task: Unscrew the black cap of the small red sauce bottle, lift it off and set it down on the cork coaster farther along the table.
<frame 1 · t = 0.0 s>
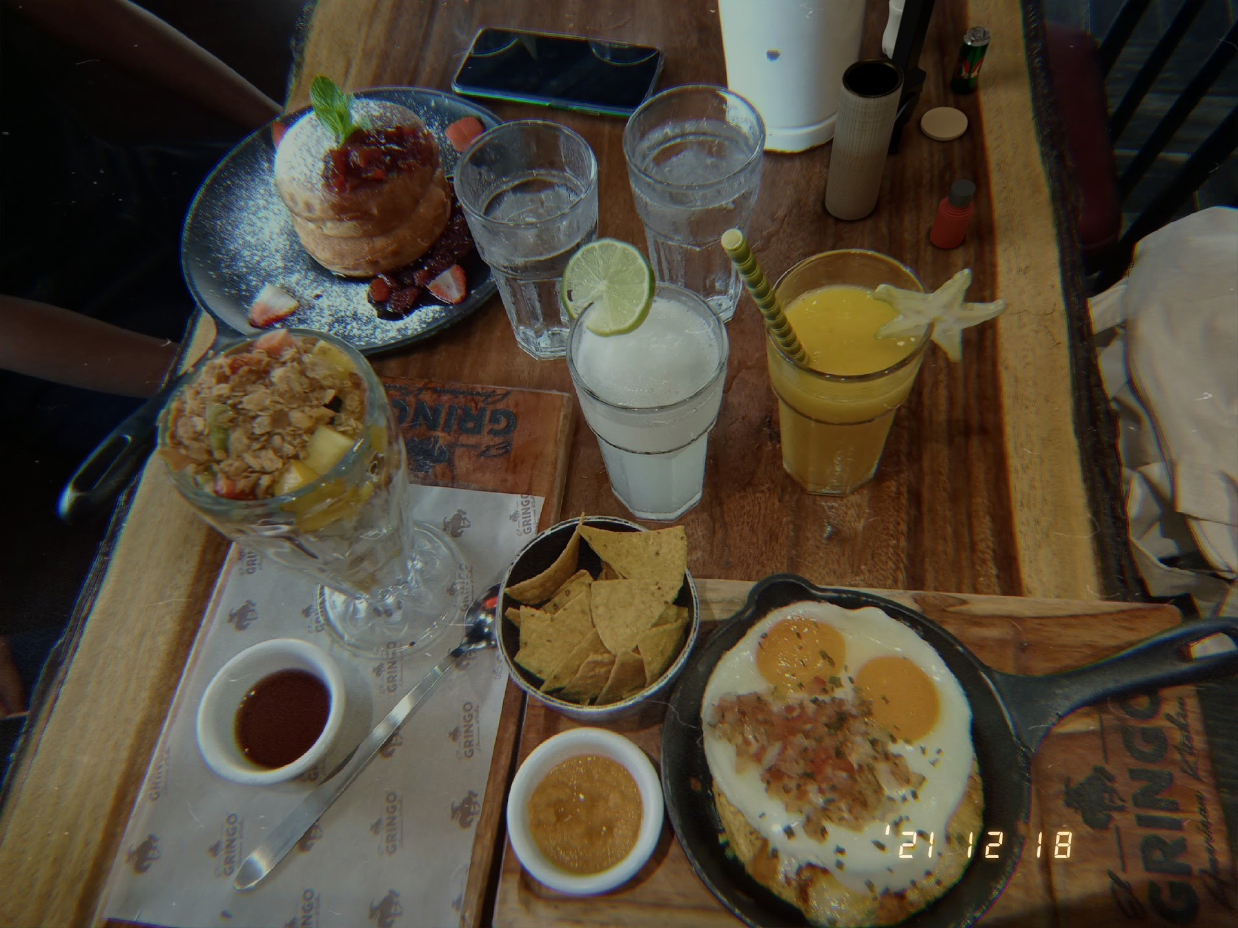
soda can: (961, 88, 156), on the table
sauce bottle: (946, 236, 139), on the table
coaster: (943, 125, 151), on the table
vase: (849, 203, 146), on the table
cap: (963, 189, 129), point 12 cm above the table, screwed on, not yet turned
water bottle: (896, 53, 163), on the table
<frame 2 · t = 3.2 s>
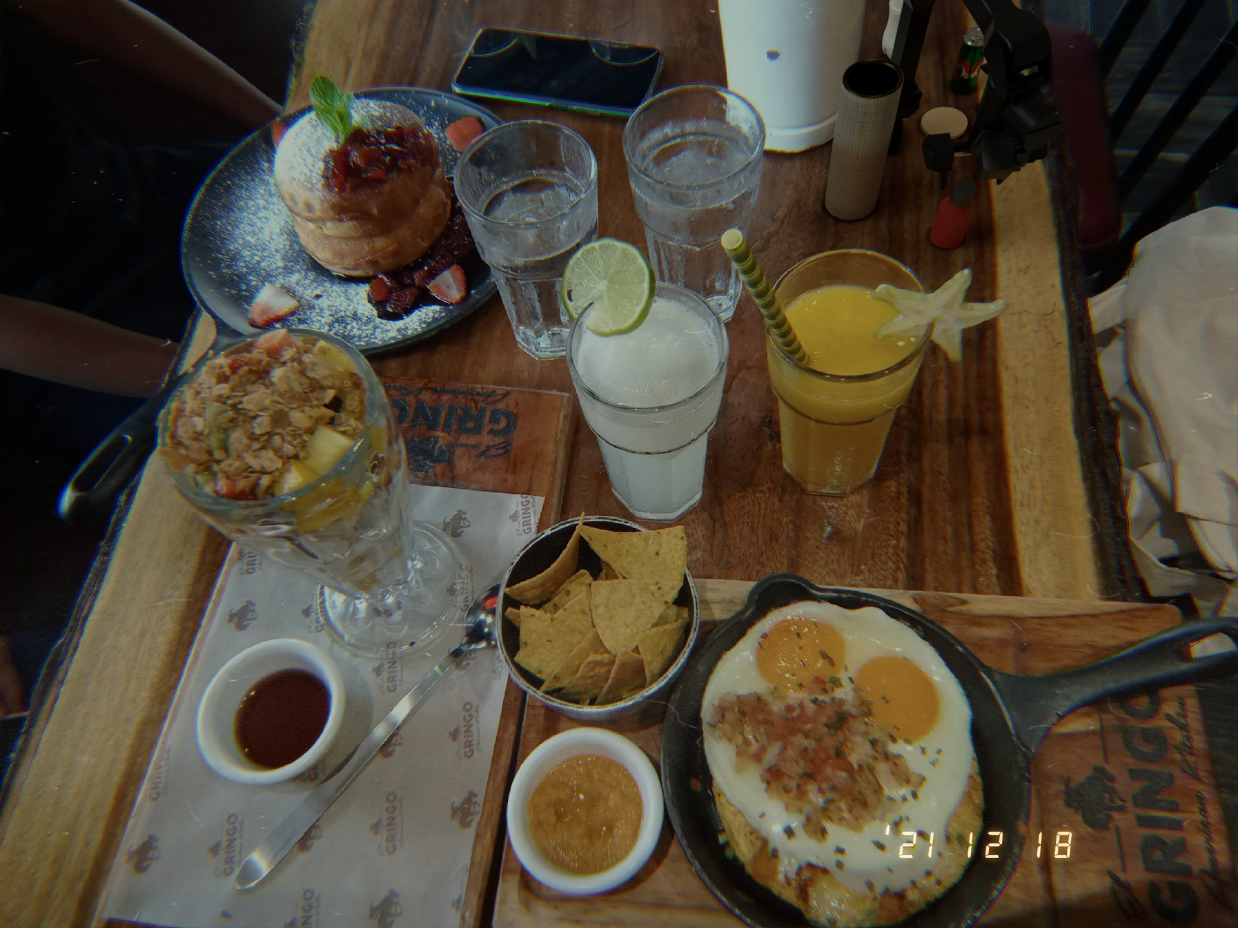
hand: (970, 186, 128), 12 cm above the table, tool pointing down, fingers open, 9 cm apart
nothing on the table moved.
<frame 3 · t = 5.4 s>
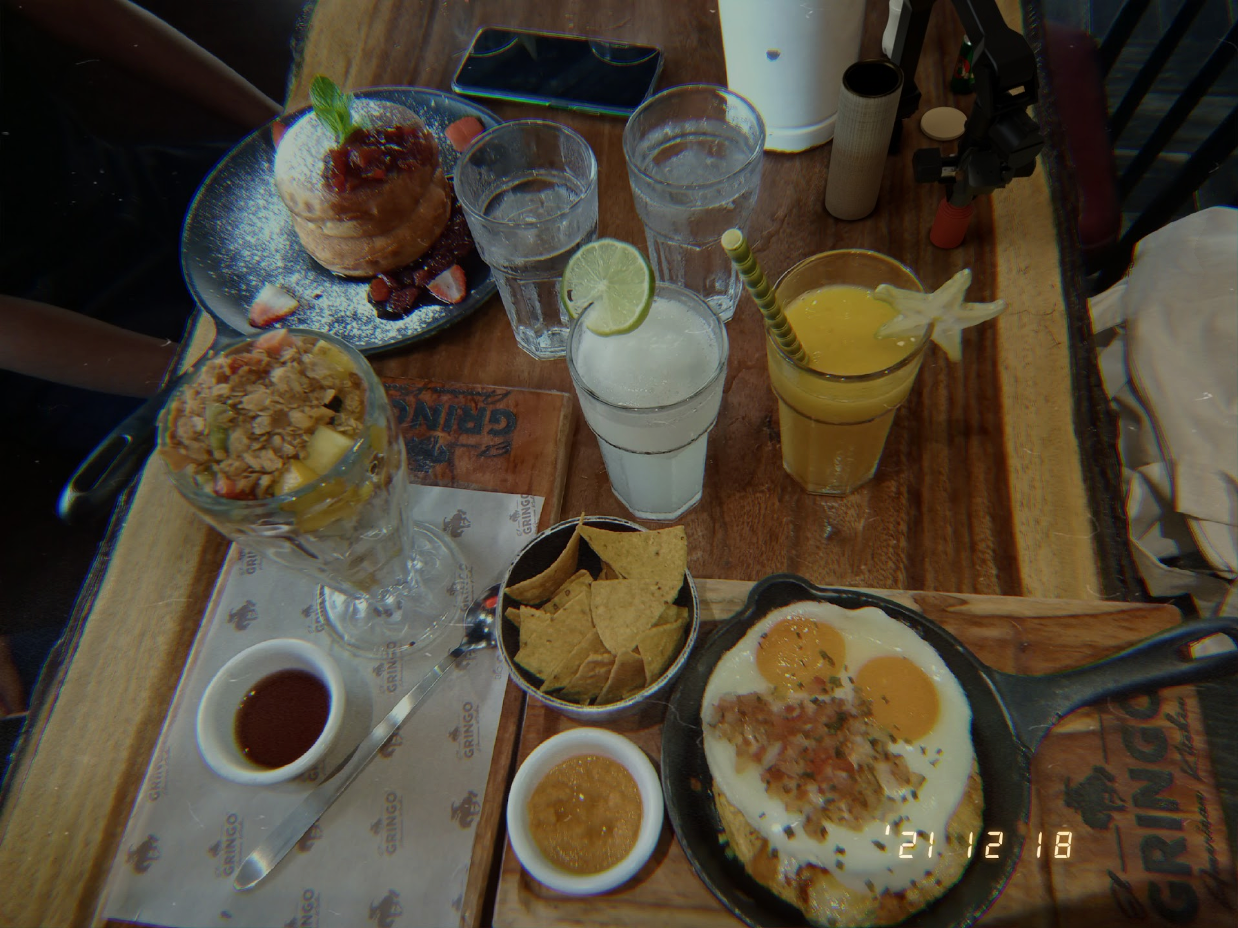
hand: (959, 199, 131), 9 cm above the table, tool pointing down, fingers closed on cap, 4 cm apart
cap: (963, 189, 129), point 12 cm above the table, screwed on, not yet turned, touching gripper
everything else where it was.
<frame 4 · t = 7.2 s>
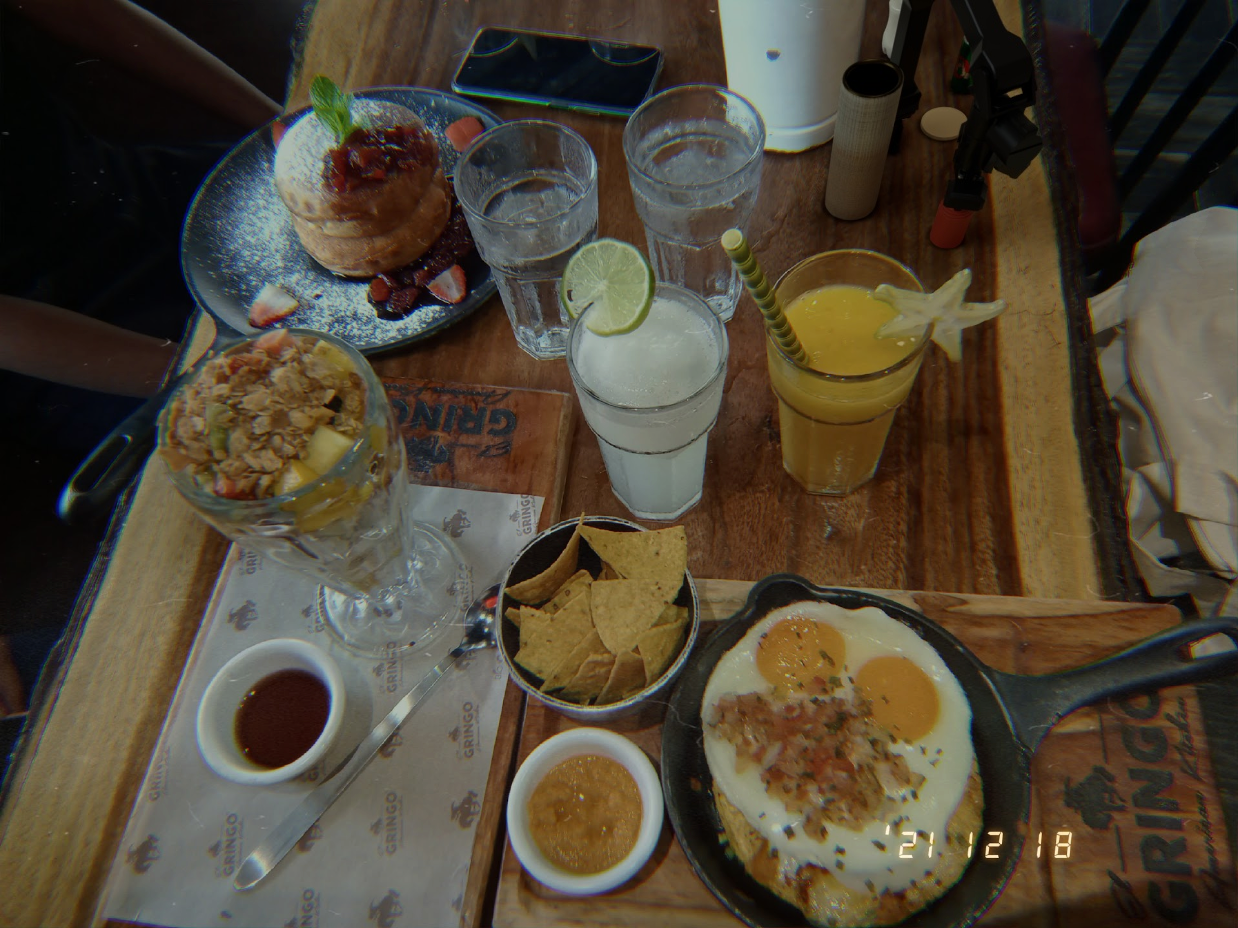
hand: (958, 202, 131), 9 cm above the table, tool pointing down, fingers closed on cap, 3 cm apart
sauce bottle: (946, 236, 139), on the table, touching gripper
cap: (963, 189, 129), point 12 cm above the table, turned 74° so far, risen 0.1 cm, still on its thread, touching gripper
everything else where it was.
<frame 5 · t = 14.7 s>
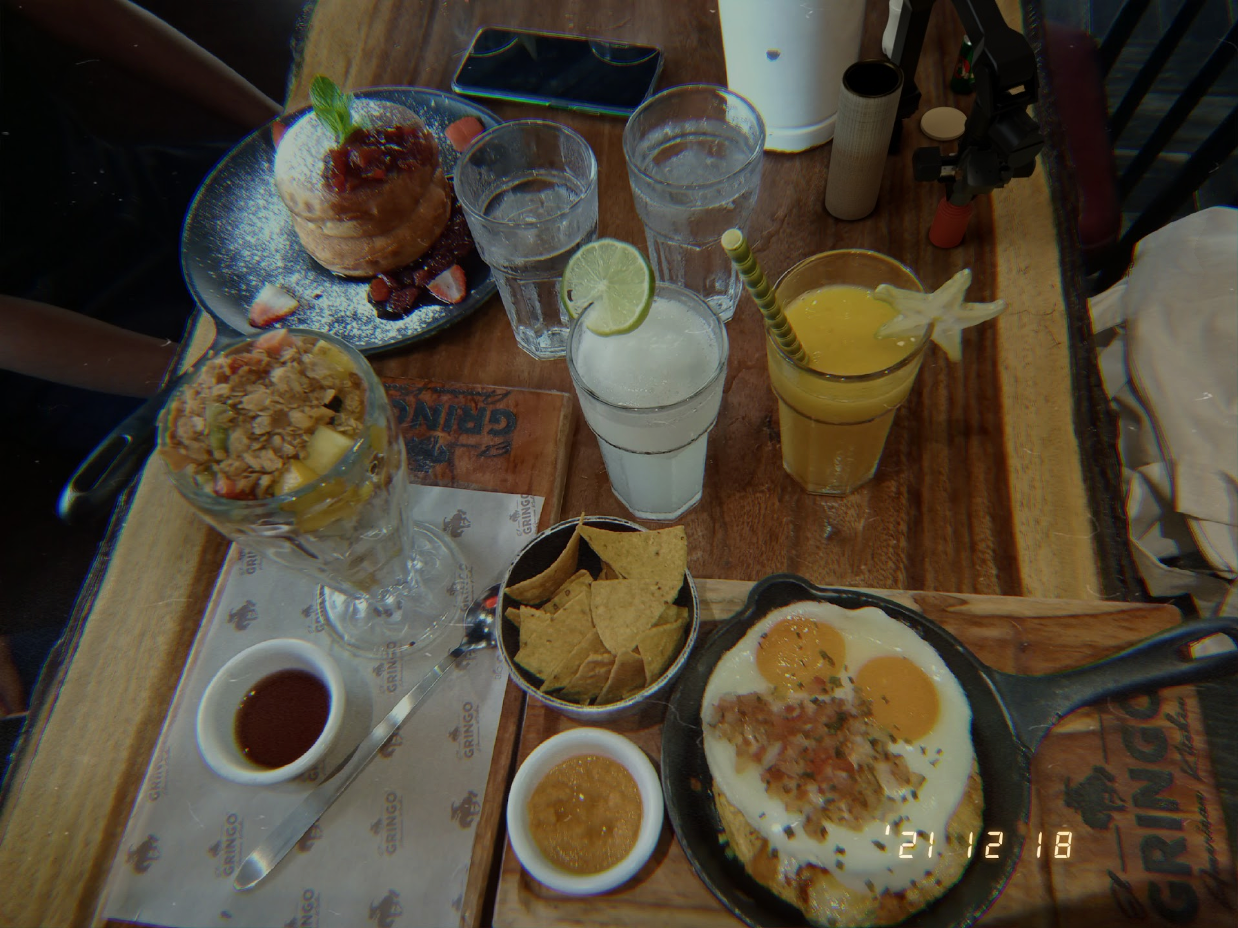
hand: (958, 199, 131), 9 cm above the table, tool pointing down, fingers closed on cap, 4 cm apart
sauce bottle: (945, 236, 139), on the table
cap: (962, 188, 129), point 12 cm above the table, turned 149° so far, risen 0.2 cm, still on its thread, touching gripper
everything else where it was.
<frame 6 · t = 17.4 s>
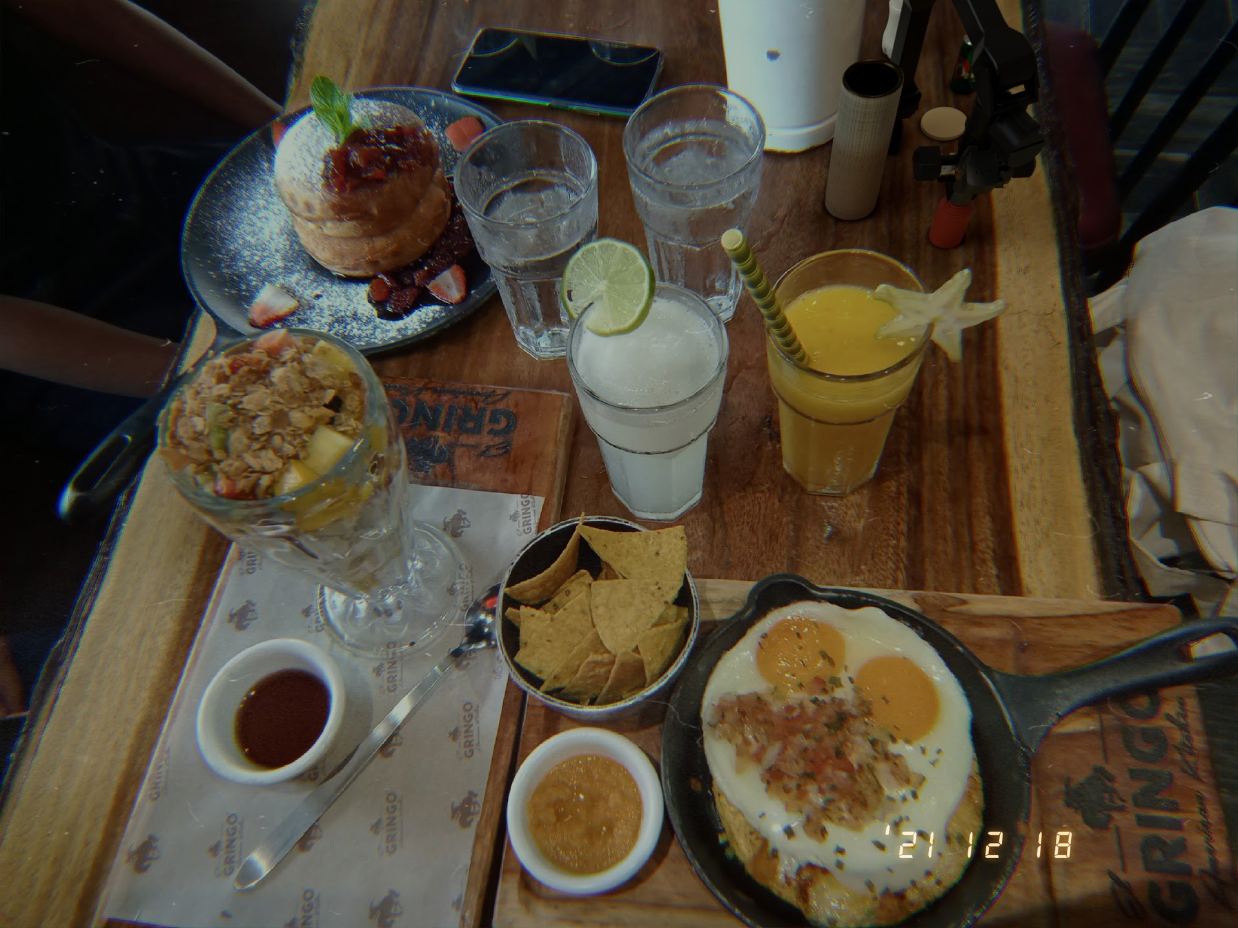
hand: (959, 199, 131), 9 cm above the table, tool pointing down, fingers closed on cap, 4 cm apart
cap: (963, 188, 128), point 12 cm above the table, turned 223° so far, risen 0.2 cm, still on its thread, touching gripper
everything else where it was.
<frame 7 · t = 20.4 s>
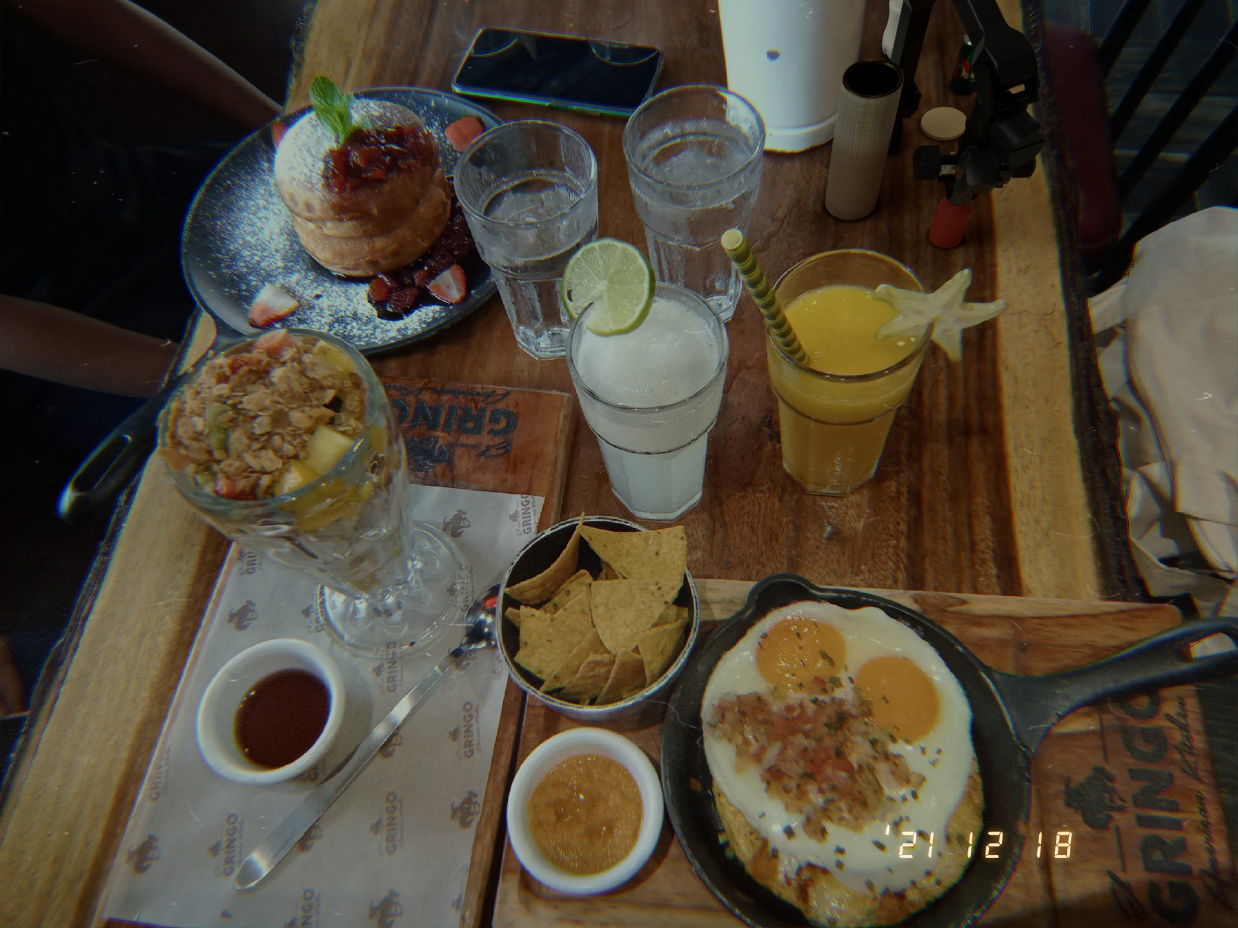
hand: (959, 198, 131), 9 cm above the table, tool pointing down, fingers closed on cap, 4 cm apart
cap: (963, 187, 128), point 12 cm above the table, turned 298° so far, risen 0.3 cm, still on its thread, touching gripper
everything else where it was.
when the fingers open (2 cm above the table, at t = 31.6 s): cap drops 1 cm, resting on coaster.
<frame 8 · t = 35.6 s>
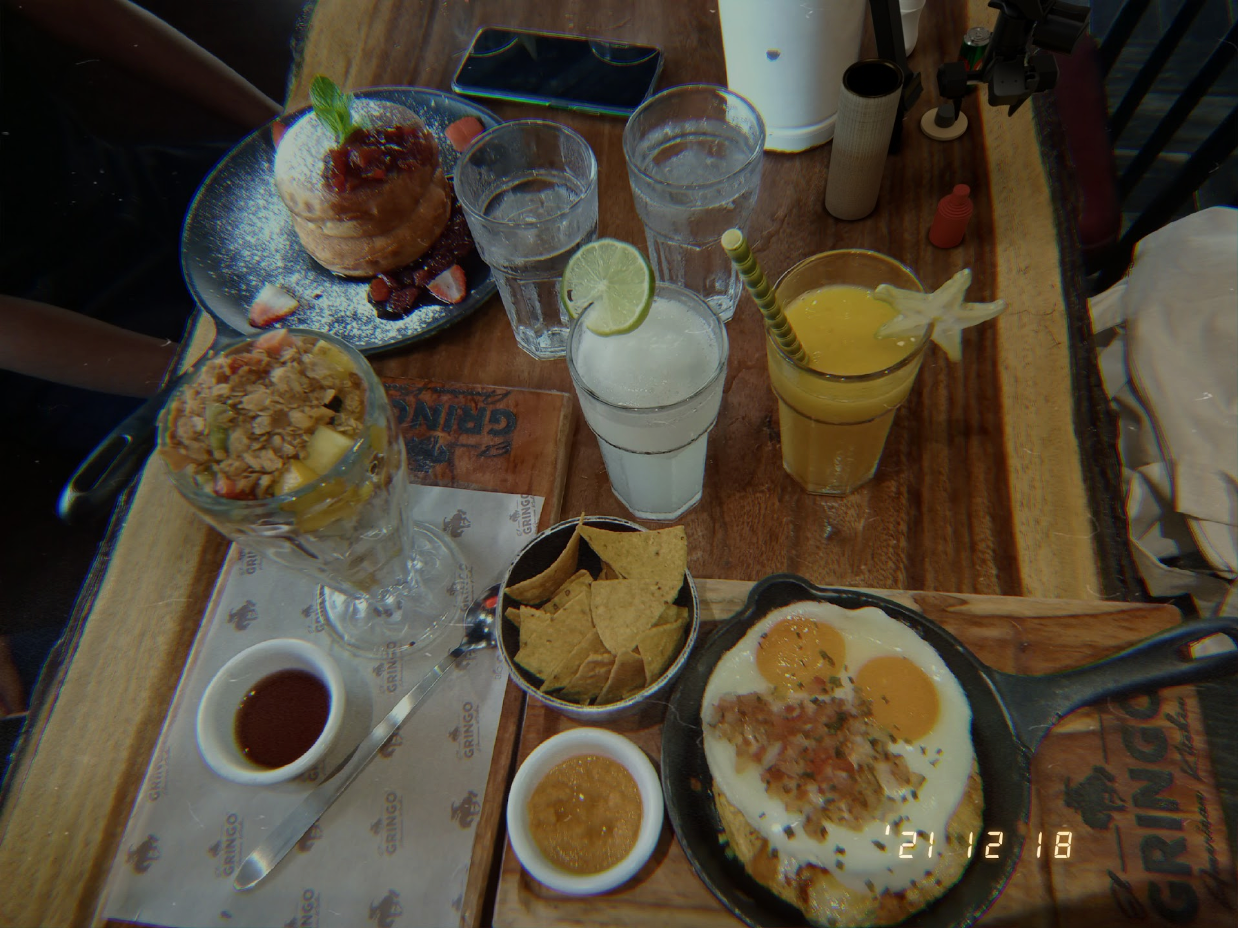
hand: (982, 117, 134), 13 cm above the table, tool pointing down, fingers open, 9 cm apart
cap: (947, 112, 149), point 3 cm above the table, off its thread, touching coaster
everything else where it was.
at the end: the gripper is holding nothing; cap point 3.1 cm above the table; cap inside the target area on the coaster (0.1 cm from its centre), point 3.1 cm above the coaster's base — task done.
